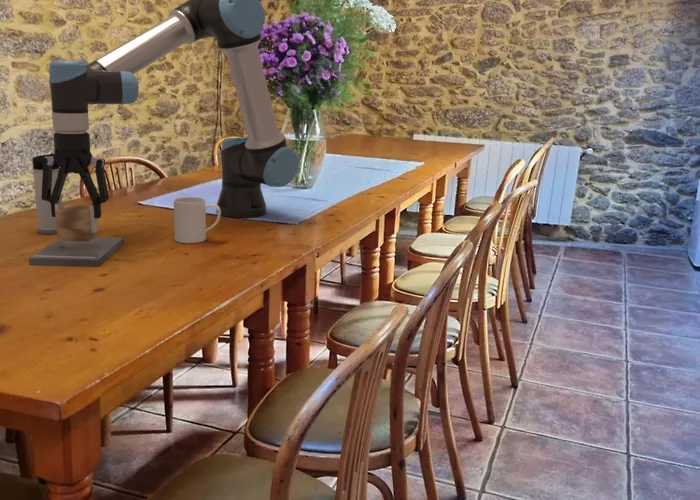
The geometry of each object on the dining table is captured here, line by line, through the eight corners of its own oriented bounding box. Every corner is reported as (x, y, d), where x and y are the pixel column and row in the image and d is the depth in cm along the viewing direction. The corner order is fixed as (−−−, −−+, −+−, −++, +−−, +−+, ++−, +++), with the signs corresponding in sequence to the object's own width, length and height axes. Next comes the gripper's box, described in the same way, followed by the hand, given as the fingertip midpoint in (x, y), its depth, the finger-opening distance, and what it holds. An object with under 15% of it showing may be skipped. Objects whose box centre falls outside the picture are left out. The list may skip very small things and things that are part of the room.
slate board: (123, 243, 171) (123, 236, 170) (98, 266, 151) (97, 259, 151) (62, 241, 170) (62, 235, 169) (29, 264, 151) (28, 257, 150)
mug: (169, 242, 174) (168, 201, 171) (182, 235, 181) (181, 196, 178) (214, 246, 171) (214, 205, 169) (226, 239, 179) (225, 199, 176)
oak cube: (98, 234, 163) (96, 205, 161) (88, 241, 156) (86, 211, 155) (68, 233, 163) (66, 205, 161) (57, 241, 156) (55, 211, 154)
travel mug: (70, 230, 181) (65, 154, 176) (52, 235, 175) (46, 157, 170) (51, 227, 183) (45, 152, 178) (32, 232, 177) (26, 155, 172)
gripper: (121, 131, 157) (125, 228, 163) (32, 128, 156) (40, 226, 162) (111, 135, 150) (116, 236, 156) (18, 131, 149) (27, 233, 155)
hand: (77, 231), depth 159 cm, fingers closed on oak cube, 7 cm apart
